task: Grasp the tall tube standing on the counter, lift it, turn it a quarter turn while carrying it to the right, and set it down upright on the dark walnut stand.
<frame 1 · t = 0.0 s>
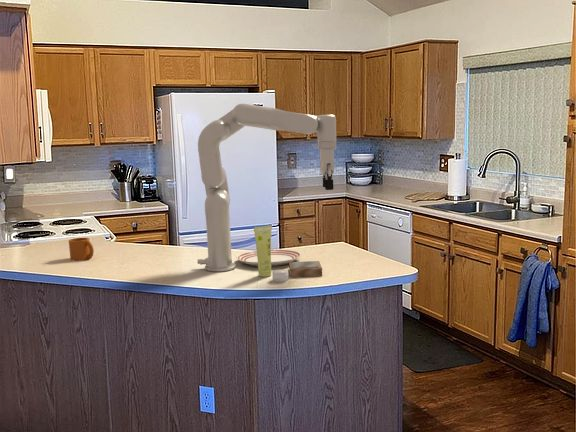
hand: (328, 188, 252), 31 cm above the worktop, tool pointing down, fingers open, 9 cm apart
dinner plate: (269, 262, 264), on the worktop
mug: (82, 259, 281), on the worktop
tube: (264, 276, 241), on the worktop
stand: (305, 272, 243), on the worktop
white dome: (280, 280, 233), on the worktop
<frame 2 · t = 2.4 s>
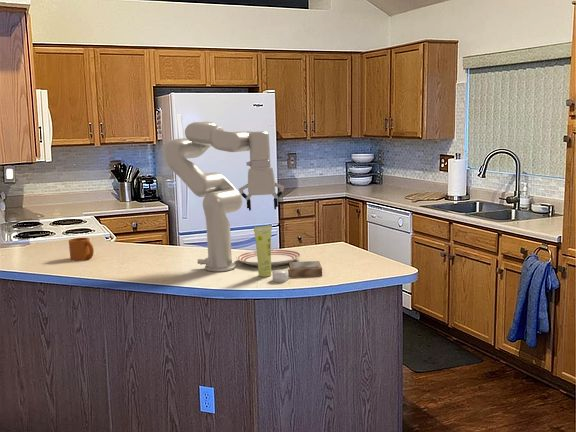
hand: (262, 209, 236), 26 cm above the worktop, tool pointing down, fingers open, 9 cm apart
nothing on the worktop moved.
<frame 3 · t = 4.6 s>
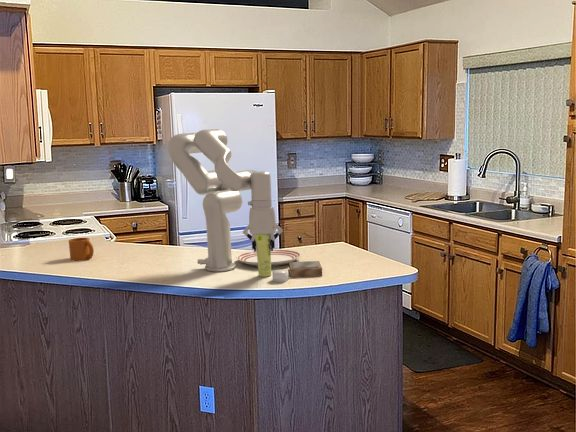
hand: (263, 250, 239), 10 cm above the worktop, tool pointing down, fingers closed on tube, 5 cm apart
tube: (264, 276, 241), on the worktop, touching gripper
everything else where it was.
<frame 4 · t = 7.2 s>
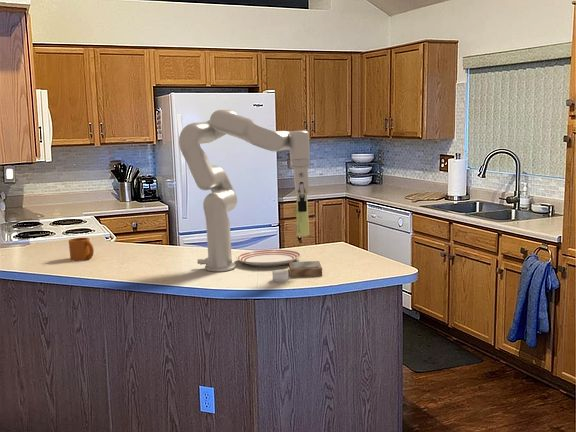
hand: (302, 209, 239), 25 cm above the worktop, tool pointing down, fingers closed on tube, 5 cm apart
tube: (303, 236, 241), point 15 cm above the worktop, touching gripper
everything else where it was.
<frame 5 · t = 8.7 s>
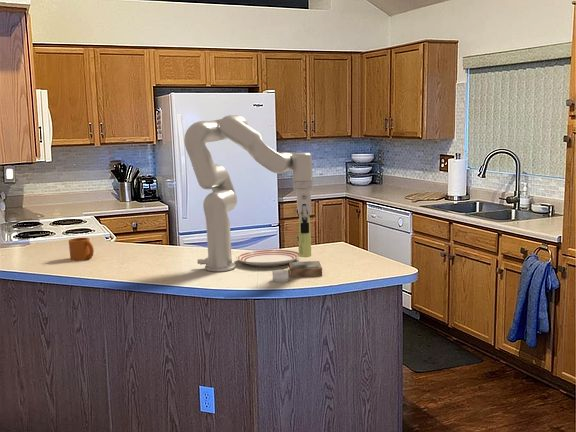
hand: (304, 231, 241), 16 cm above the worktop, tool pointing down, fingers closed on tube, 5 cm apart
tube: (305, 256, 242), point 6 cm above the worktop, touching gripper
everything else where it was.
when the fingers open (14 cm above the worktop, at t = 10.0 s): tube drops 1 cm, resting on stand.
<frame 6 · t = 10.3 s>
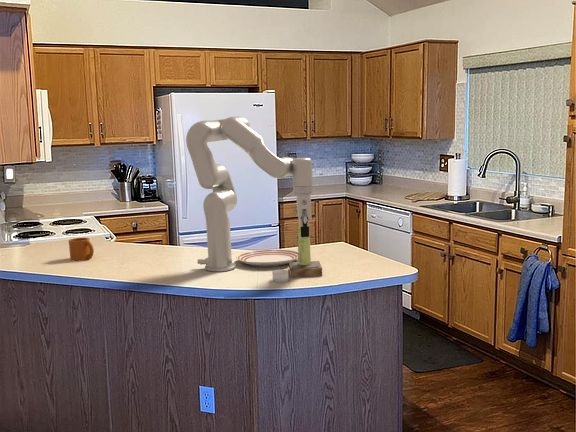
hand: (304, 234, 241), 15 cm above the worktop, tool pointing down, fingers open, 8 cm apart
tube: (304, 264, 243), point 3 cm above the worktop, touching stand
everything else where it was.
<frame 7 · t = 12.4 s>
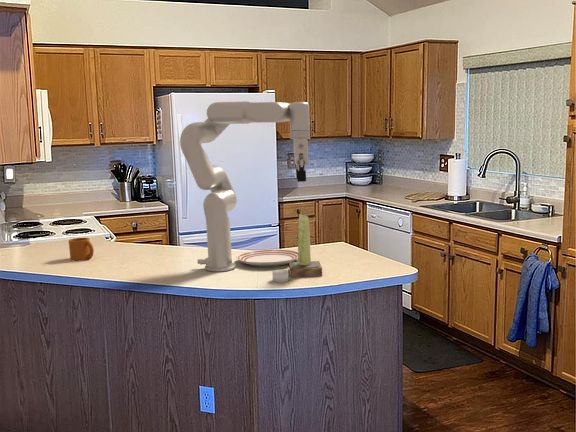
hand: (301, 180, 238), 36 cm above the worktop, tool pointing down, fingers open, 9 cm apart
nothing on the worktop moved.
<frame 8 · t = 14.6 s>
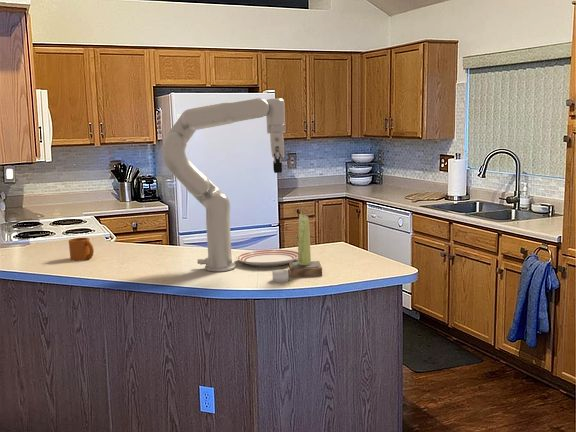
hand: (277, 171, 255), 38 cm above the worktop, tool pointing down, fingers open, 9 cm apart
nothing on the worktop moved.
at the end: tube inside the target area on the stand (0.2 cm from its centre), point 3.0 cm above the stand's base; tube tilted 0°; the gripper is holding nothing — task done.
